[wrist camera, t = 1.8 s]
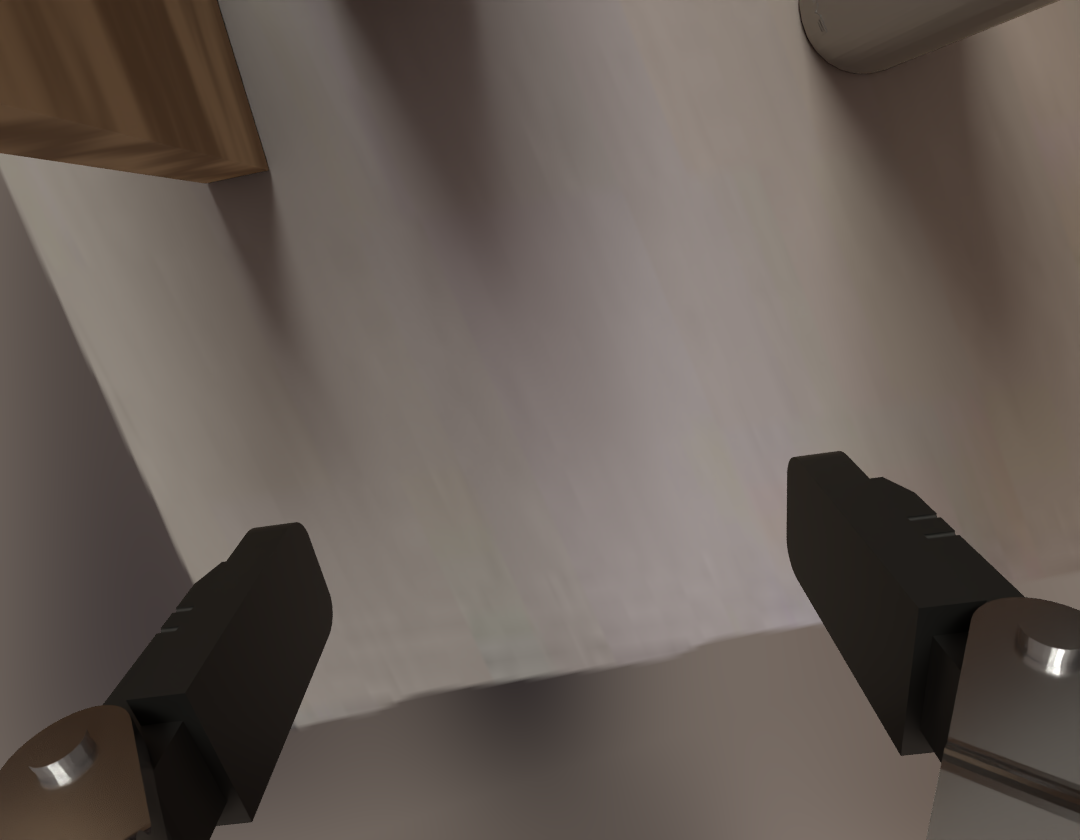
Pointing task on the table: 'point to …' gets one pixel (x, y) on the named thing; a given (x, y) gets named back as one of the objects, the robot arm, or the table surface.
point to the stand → (125, 88)
